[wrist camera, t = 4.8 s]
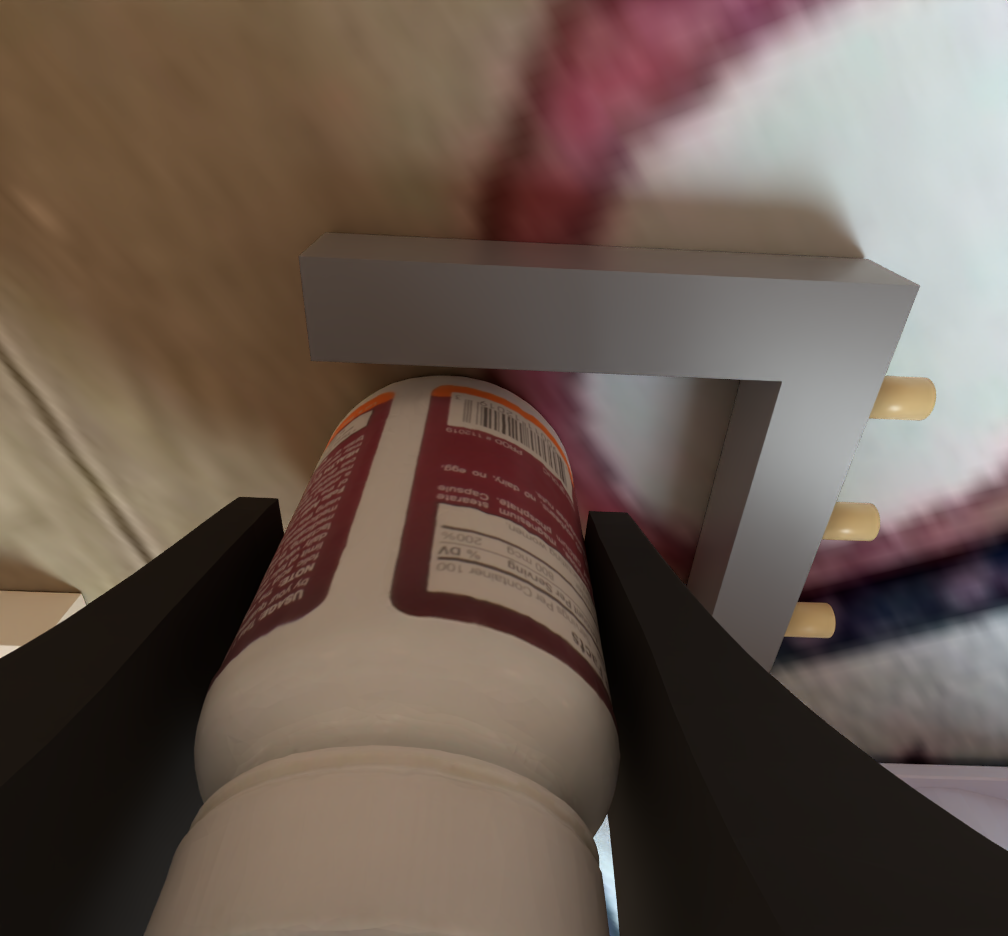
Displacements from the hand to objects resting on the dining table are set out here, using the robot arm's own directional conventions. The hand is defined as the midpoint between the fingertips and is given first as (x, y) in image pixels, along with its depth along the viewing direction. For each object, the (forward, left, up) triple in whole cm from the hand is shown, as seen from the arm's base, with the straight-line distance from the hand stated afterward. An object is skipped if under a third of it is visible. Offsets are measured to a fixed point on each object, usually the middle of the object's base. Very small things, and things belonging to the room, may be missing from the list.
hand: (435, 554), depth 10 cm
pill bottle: (0, 0, -2) cm, 2 cm away
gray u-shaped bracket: (-3, 0, -2) cm, 4 cm away
